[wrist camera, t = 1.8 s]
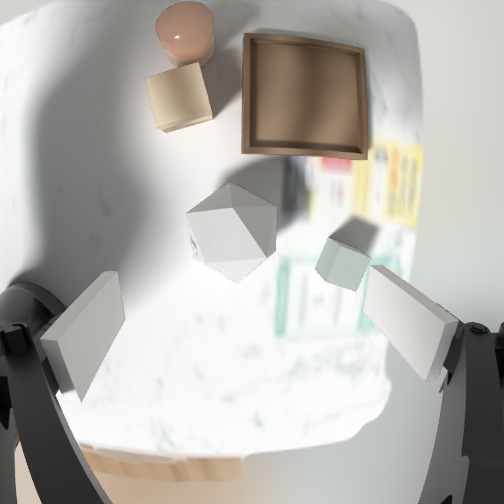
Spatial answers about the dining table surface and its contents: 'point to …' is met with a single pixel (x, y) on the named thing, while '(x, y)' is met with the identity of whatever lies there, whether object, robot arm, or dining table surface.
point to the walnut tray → (303, 98)
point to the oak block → (179, 98)
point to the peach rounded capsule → (187, 33)
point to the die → (232, 231)
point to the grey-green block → (342, 264)
